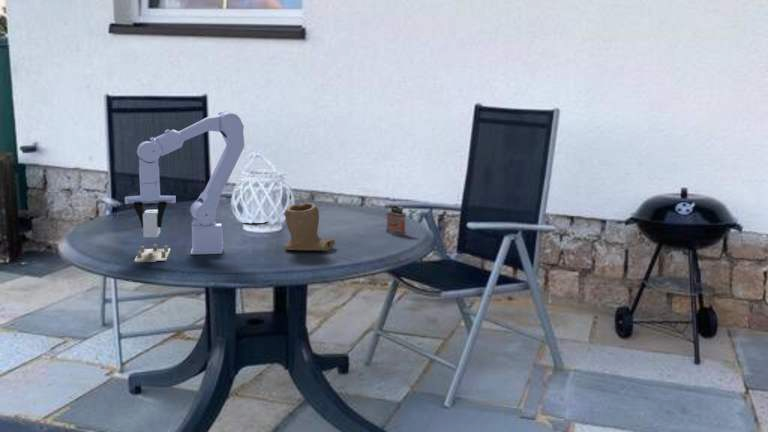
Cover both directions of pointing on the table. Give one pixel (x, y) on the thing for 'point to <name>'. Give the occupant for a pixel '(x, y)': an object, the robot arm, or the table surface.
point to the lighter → (396, 220)
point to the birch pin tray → (152, 254)
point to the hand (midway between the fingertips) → (151, 226)
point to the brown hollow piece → (305, 229)
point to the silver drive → (150, 223)
